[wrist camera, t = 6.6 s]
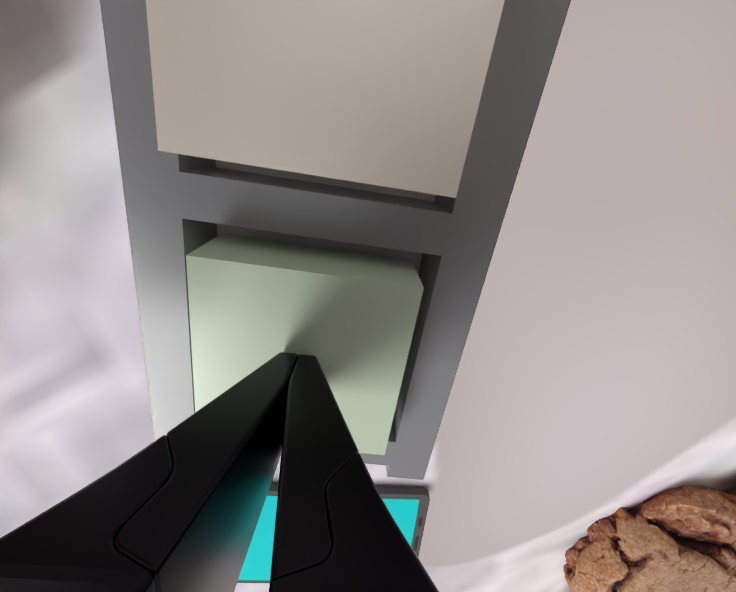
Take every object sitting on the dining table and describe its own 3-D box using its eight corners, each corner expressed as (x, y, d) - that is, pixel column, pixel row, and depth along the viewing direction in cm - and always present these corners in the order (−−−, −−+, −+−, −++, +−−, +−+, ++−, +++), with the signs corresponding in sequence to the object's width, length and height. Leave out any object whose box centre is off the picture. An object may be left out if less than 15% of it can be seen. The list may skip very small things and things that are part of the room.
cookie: (533, 531, 18) (564, 599, 16) (741, 449, 16) (819, 511, 13) (592, 612, 22) (626, 679, 19) (769, 552, 20) (836, 618, 17)
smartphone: (412, 585, 19) (133, 581, 18) (410, 567, 20) (142, 564, 19) (431, 494, 16) (100, 485, 15) (427, 478, 17) (112, 469, 16)
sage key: (380, 404, 11) (384, 455, 9) (224, 388, 11) (196, 438, 9) (411, 260, 9) (423, 287, 7) (222, 233, 9) (185, 254, 7)
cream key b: (433, 186, 8) (455, 197, 6) (208, 150, 7) (158, 150, 6) (499, -117, 6) (563, -238, 4) (198, -188, 5) (115, -362, 4)
